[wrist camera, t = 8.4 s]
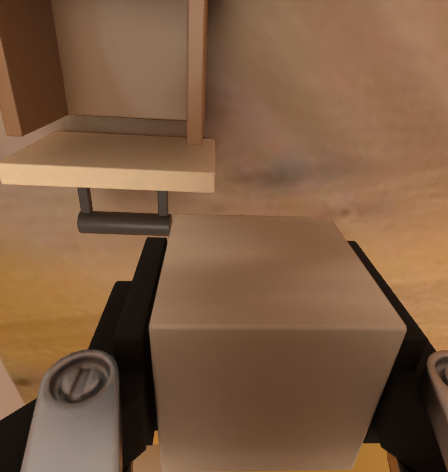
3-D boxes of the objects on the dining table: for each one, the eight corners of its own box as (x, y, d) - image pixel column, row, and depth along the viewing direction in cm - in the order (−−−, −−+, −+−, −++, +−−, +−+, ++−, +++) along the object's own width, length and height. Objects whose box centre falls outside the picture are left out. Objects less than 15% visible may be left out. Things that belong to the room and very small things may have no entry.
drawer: (211, 207, 28) (211, 259, 21) (67, 201, 28) (19, 253, 21) (224, -81, 20) (230, -150, 13) (15, -99, 19) (-97, -181, 12)
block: (331, 216, 10) (410, 328, 6) (307, 332, 12) (353, 471, 8) (173, 212, 9) (147, 326, 6) (177, 331, 12) (160, 473, 8)
